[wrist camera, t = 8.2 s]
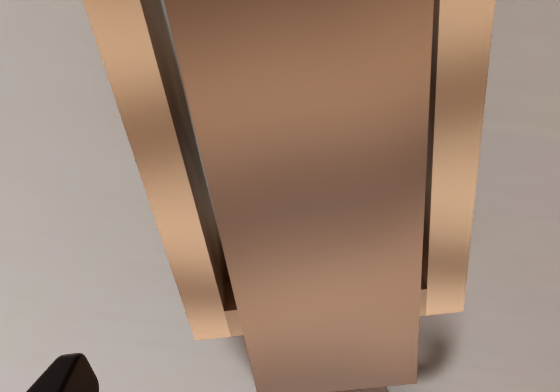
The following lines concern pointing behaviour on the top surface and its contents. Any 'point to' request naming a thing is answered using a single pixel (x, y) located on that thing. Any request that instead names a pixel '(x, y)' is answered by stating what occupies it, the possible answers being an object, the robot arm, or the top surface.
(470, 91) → the wooden tray
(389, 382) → the brown wooden block
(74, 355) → the robot arm
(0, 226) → the top surface
